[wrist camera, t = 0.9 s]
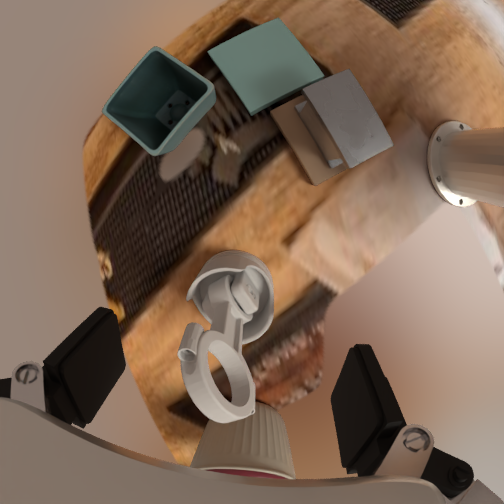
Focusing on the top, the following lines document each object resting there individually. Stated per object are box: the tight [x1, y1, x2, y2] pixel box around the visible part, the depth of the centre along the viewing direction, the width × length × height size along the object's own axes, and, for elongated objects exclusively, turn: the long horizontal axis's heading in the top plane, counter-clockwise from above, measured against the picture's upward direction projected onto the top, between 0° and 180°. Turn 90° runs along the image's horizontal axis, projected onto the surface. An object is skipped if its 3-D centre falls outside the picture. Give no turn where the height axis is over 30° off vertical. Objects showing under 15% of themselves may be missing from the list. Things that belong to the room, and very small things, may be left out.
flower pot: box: [102, 46, 216, 156], centre depth 26 cm, size 9×9×9 cm
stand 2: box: [270, 95, 346, 186], centre depth 29 cm, size 10×10×2 cm
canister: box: [190, 402, 296, 479], centre depth 34 cm, size 18×18×21 cm
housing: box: [294, 69, 394, 169], centre depth 24 cm, size 8×5×8 cm, turn 31°
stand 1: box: [207, 18, 324, 116], centre depth 27 cm, size 10×10×2 cm
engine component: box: [178, 250, 274, 423], centre depth 27 cm, size 11×20×10 cm
